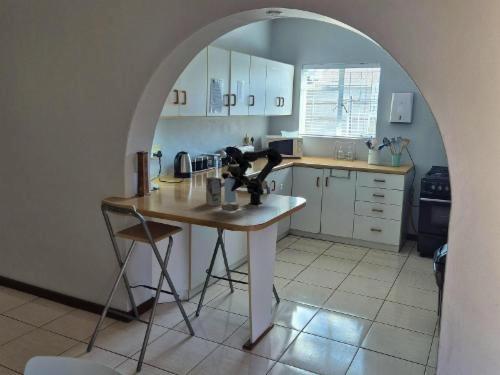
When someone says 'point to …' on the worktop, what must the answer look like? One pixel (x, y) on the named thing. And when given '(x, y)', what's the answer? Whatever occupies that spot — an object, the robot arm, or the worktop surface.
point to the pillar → (229, 190)
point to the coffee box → (213, 191)
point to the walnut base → (229, 208)
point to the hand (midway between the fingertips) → (228, 190)
